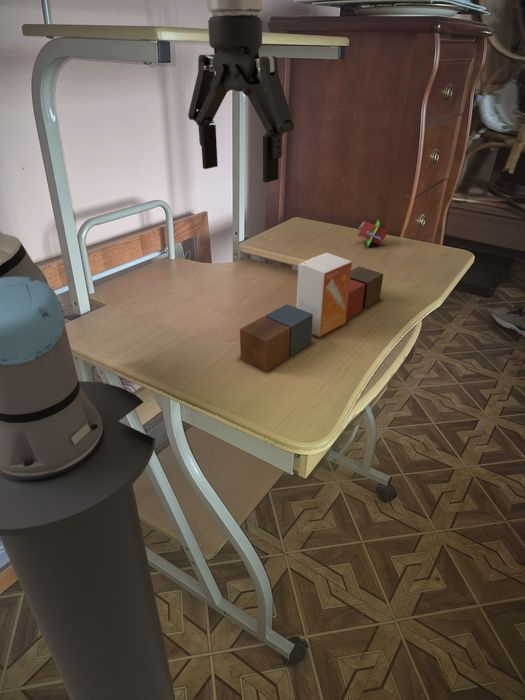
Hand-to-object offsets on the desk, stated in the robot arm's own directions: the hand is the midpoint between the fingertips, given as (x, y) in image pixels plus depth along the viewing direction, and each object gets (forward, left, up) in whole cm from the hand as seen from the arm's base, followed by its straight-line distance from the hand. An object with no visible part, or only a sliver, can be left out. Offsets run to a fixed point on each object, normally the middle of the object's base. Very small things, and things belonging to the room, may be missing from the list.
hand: (239, 174), depth 80 cm
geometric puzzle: (-6, +56, -29) cm, 63 cm away
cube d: (+10, +26, -29) cm, 40 cm away
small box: (+10, +11, -29) cm, 33 cm away
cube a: (+10, -5, -29) cm, 31 cm away
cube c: (+10, +18, -29) cm, 36 cm away
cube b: (+10, +2, -29) cm, 30 cm away
